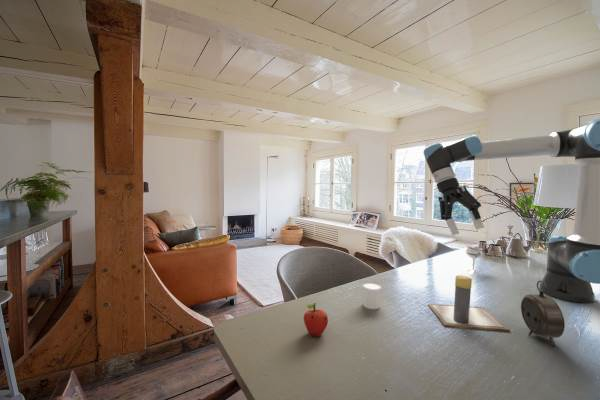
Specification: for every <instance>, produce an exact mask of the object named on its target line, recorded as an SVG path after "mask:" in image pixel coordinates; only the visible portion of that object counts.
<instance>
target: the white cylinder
mask: <svg viewBox="0 0 600 400" xmlns="http://www.w3.org/2000/svg"><path fill="white" fill-rule="evenodd" d="M382 287H383V286H382V285H380V284H377V283H374V282H365V283H362V284H361V291H362V293H361V294H362V295H361V296H362V305H363V307H364V308H365V309H369V310H377V309H379V308H380V305H381V299H382Z"/></svg>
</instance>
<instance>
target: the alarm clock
mask: <svg viewBox="0 0 600 400" xmlns="http://www.w3.org/2000/svg"><path fill="white" fill-rule="evenodd" d="M541 282H543V281H542V280H538V281H537V283H536V288H537V290H538V292H539V294H536V293H535V294H533V293H531V294H526V295H524V297H523V298H522V299H521V303H520V312H521V316H522V319H523V321H524V324H525V325H526V327H527V328H528V329H529V333H528V336H529V337H530V336H531V335H532V334H534V335H535V336H538V337H541V338H542V337H543V338H548V339H549V341H550V343H551V346H552V347H553V348H556V345H555V341H554V339H557V338H560V337H561V336H562V335H563V334H564V332H565V318H564V314H563V312H562V309H561V308H560V306H559V305H558V303H557V302H556V301H555V300H554V298H552V296H550V295H547V294H545V292H546V290H547V286H546V284H545V282H543V283H544V285H545V291H542V290H540V286H539V284H540V283H541Z"/></svg>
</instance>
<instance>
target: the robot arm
mask: <svg viewBox="0 0 600 400" xmlns="http://www.w3.org/2000/svg"><path fill="white" fill-rule="evenodd" d="M423 156H424V158H425V161H426V164H427V166H428V168H429V170H430V172H431V175H432V177H433V180H434V183H435V184H436V188H437V189H438V190H437V191H438V192H439V193H440V194H442V196H438V197H437V199H438V201H439V202H438V203H439V211H440V219H441V220H444V221H445V222H446V224H447V226H448V229H449V230H450V232H451V235H452V236H455V235H459V234H460V231H459V229H458V226H457V224H456V221H455V219H454V217H453V216H452V214H453V206H454V205H455V203H457V202H458V203H460V205H462V206H463V207H465V208H466V209H467V210H468V214H469V216H470V218H471V220H472V223H473V225H474V228H475V230H480V229H485V225H484V224H483V221H482V216H481V214H480V212H479V208H480V207H482V204H481V203H480V202H479V201H478V200H477V198H476V197H474V196H473V194H472V193H471V192H470V191H468V189H467V187H466V185H462V186H460V183H459V181H458V179H457V177H456V174H455V172H454V169H453V166H452V165H451V164H454V163H462V162H467V161H480V160H481V161H482V160H494V159H495V160H496V159H510V158H511V159H512V158H524V157H539V156H549V157H551V158H561V157H562V158H574V162H576V163H577V164H578V165H579V166H580V167H579V169H580V170H579V178H578V187H577V195H576V197H577V198H576V206H575V215H574V224H573V225H574V226H573V233H572V234H571V235H569V236H560V235H551V236H549V238H548V242H547V257H546V272H545V274H544V276H543V278H542V279H541V281H543V282H545V284H546V286H547V290H546V292H545V293H544V295H548V296H549V297H553V298H557V299H560V300H563V301H569V302H575V303H580V304H581V303H584V304H591V303H594V302H595V299H596V298H595V297H596V295H595V293H594V290H593V286H592V285H591V284H598V285H600V118H597V119H594V120H592V121H591V122H589V123H588V122H587V123H585V124H584V125H580V126H578V127H574V128H571V129H568V130H563V131H555V132H554V131H553V132H552V133H551V134H549V135H541V136H531V137H530V136H529V137H518V138H509V139H501V140H500V139H498V140H490V141H489V140H488V141H487V140H486V141H481V139H480V138H479V137H478V136H477V135H476V134H475V135H474V134H473V135H469V136H467V137H466V136H465V138H462V139H460V140H457V141H455V142H452V143H449V144H447V145H444V146H443V144H442V143H440V142H437V143H433V144H430V145H428V146H427V147H425V148H424V150H423ZM543 282H539V290H542V291H545V285H544V283H543Z"/></svg>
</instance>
